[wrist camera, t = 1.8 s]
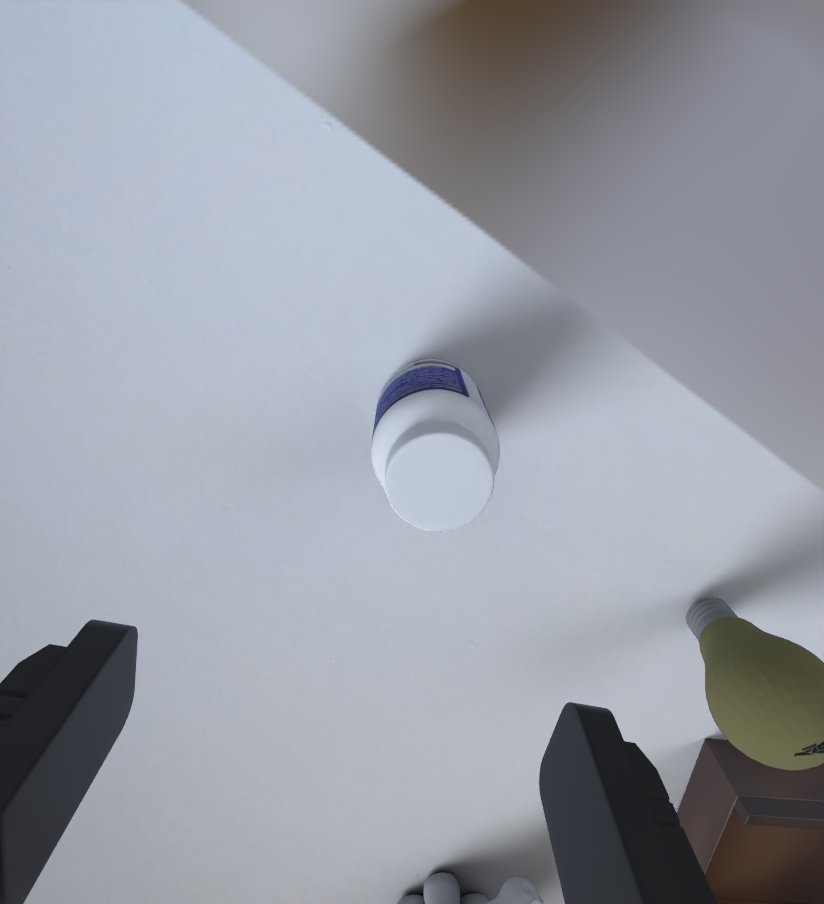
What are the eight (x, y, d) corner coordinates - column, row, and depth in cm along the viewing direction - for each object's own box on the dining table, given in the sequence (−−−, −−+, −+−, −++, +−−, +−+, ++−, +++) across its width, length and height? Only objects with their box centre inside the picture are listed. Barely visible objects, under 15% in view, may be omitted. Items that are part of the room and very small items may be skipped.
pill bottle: (355, 414, 29) (335, 489, 21) (425, 335, 28) (431, 382, 20) (434, 477, 31) (444, 572, 22) (504, 405, 29) (542, 476, 21)
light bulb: (719, 547, 32) (845, 678, 23) (768, 609, 34) (906, 756, 24) (634, 603, 34) (721, 749, 24) (685, 661, 35) (786, 819, 26)
